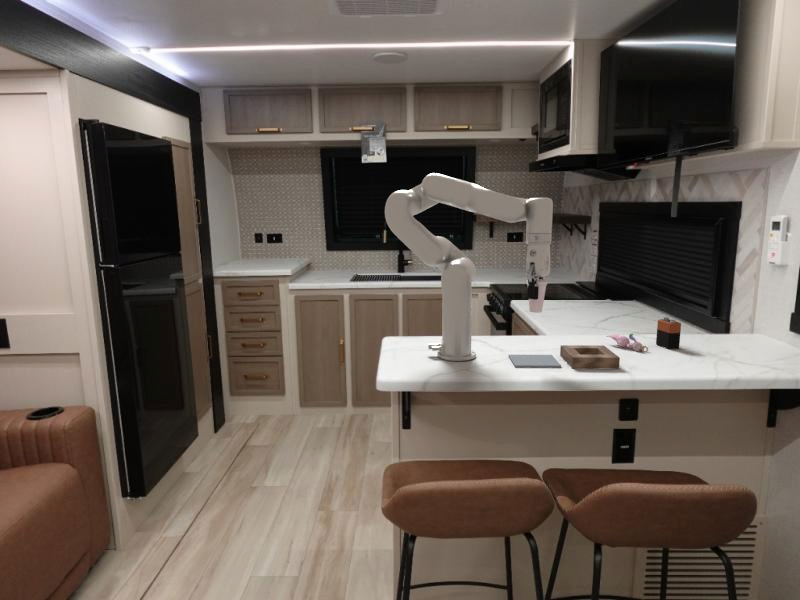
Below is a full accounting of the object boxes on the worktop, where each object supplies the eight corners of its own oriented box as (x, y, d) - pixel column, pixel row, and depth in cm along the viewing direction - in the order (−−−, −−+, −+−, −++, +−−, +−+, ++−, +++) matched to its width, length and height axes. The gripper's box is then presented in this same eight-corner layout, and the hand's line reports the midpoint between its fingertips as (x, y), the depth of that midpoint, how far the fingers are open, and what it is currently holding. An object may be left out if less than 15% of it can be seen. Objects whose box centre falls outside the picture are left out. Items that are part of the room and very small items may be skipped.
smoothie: (549, 311, 165) (552, 266, 162) (540, 314, 160) (542, 268, 158) (531, 308, 169) (532, 265, 166) (521, 311, 164) (522, 266, 162)
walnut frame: (572, 368, 160) (572, 357, 159) (560, 355, 174) (560, 345, 173) (619, 368, 159) (619, 357, 159) (603, 355, 173) (603, 345, 173)
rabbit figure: (649, 355, 179) (612, 339, 191) (653, 338, 177) (615, 323, 189) (638, 357, 176) (601, 341, 188) (642, 341, 174) (604, 325, 186)
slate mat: (514, 367, 162) (515, 365, 162) (508, 356, 173) (508, 354, 173) (561, 367, 161) (561, 365, 161) (551, 356, 173) (551, 354, 173)
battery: (665, 343, 188) (668, 316, 186) (679, 348, 181) (682, 320, 179) (655, 344, 187) (657, 316, 185) (668, 349, 180) (671, 320, 179)
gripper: (541, 241, 151) (539, 302, 155) (559, 237, 166) (556, 294, 169) (516, 240, 155) (514, 300, 158) (535, 237, 170) (533, 292, 173)
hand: (536, 296), depth 164 cm, fingers closed on smoothie, 6 cm apart
